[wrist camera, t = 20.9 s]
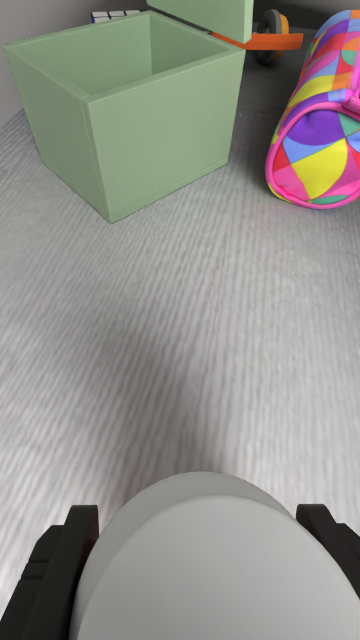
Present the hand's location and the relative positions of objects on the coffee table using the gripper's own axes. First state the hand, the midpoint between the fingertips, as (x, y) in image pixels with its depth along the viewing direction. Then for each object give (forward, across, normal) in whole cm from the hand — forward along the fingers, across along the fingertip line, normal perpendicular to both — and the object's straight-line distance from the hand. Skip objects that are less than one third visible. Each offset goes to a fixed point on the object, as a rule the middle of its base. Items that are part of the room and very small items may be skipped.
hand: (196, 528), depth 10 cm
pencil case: (+27, -14, -18) cm, 35 cm away
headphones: (+43, -9, -35) cm, 56 cm away
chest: (+25, +4, -17) cm, 30 cm away
